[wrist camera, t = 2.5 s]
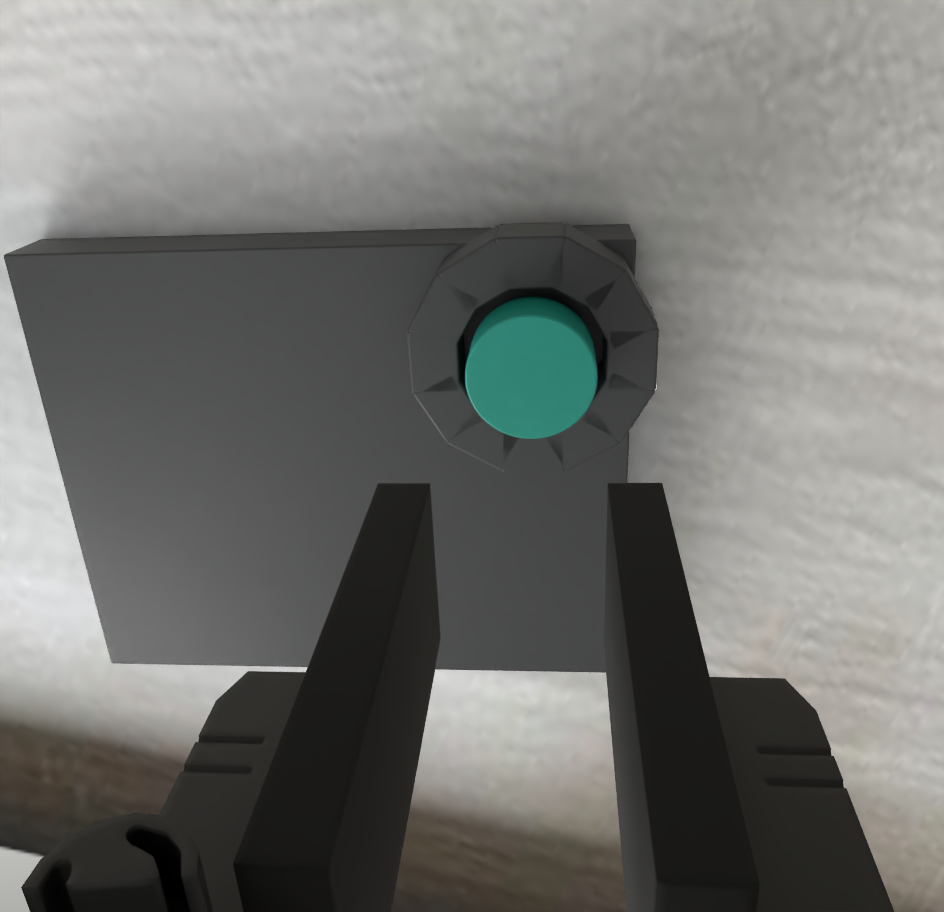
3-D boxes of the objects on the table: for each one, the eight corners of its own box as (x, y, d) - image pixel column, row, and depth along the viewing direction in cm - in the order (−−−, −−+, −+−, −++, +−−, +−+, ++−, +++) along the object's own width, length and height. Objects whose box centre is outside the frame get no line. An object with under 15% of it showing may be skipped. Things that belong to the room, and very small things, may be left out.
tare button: (595, 294, 21) (599, 313, 19) (593, 413, 22) (596, 439, 21) (467, 296, 21) (462, 316, 20) (472, 414, 22) (467, 440, 21)
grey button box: (648, 205, 23) (664, 233, 20) (630, 635, 29) (640, 710, 26) (36, 222, 24) (-40, 251, 21) (135, 628, 30) (87, 697, 27)
